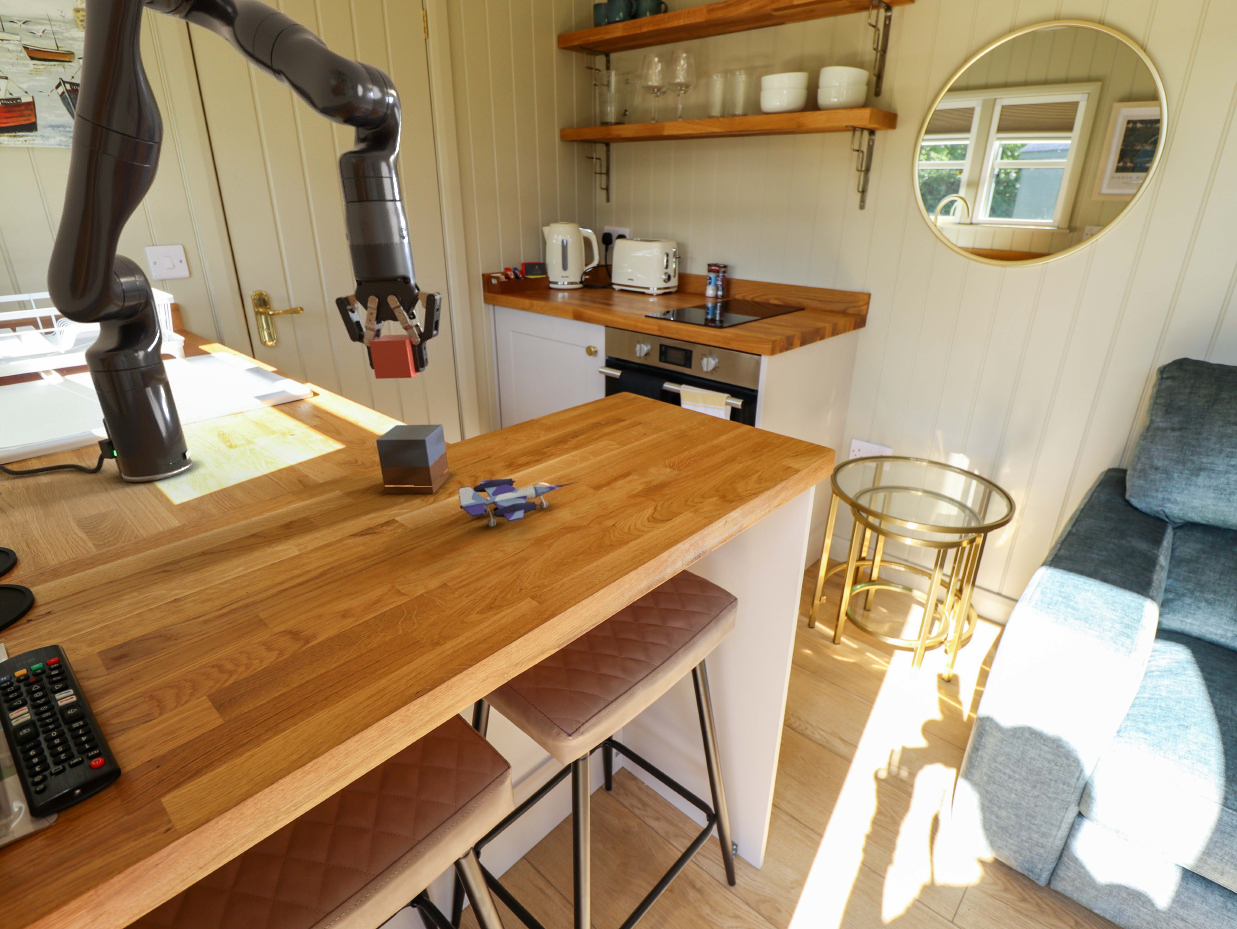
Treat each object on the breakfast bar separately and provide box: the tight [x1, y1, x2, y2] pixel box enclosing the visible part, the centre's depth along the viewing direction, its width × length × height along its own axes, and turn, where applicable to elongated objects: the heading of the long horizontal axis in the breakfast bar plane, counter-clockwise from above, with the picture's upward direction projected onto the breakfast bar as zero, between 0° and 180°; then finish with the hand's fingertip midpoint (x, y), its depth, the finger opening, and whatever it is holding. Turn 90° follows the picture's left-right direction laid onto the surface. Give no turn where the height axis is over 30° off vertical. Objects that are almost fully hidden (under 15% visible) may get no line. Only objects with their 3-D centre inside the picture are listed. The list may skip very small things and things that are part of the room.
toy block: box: [369, 333, 421, 380], centre depth 89 cm, size 5×5×5 cm
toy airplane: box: [458, 477, 579, 528], centre depth 84 cm, size 13×14×4 cm
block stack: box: [375, 424, 450, 495], centre depth 94 cm, size 7×7×8 cm
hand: (400, 371), depth 90 cm, fingers closed on toy block, 5 cm apart
